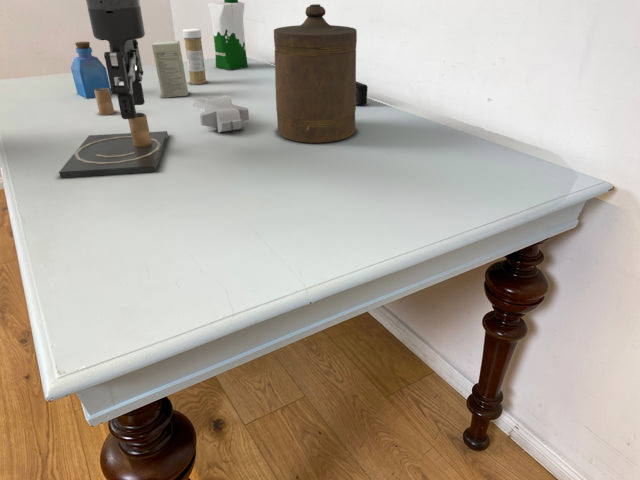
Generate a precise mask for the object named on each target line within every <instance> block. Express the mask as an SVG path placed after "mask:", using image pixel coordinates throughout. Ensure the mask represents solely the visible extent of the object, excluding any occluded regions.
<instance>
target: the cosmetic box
mask: <svg viewBox="0 0 640 480" xmlns="http://www.w3.org/2000/svg"><path fill="white" fill-rule="evenodd" d="M151 49H152V53H153V59H154V64H155V70H156V74H157V79H158V84H159V89H160V94H161V98H174V97H186V96H187V97H188V95H189V89H188V84H187V79H186V73H185V67H184V61H183V54H182V49H181V44H180V40H171V41H154V42H152V43H151Z"/></svg>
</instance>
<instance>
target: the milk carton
mask: <svg viewBox="0 0 640 480" xmlns="http://www.w3.org/2000/svg"><path fill="white" fill-rule="evenodd" d="M207 7H208V10H209V14H210V19H211V25H212V32H213V33H212V34H213V43H214V52H215V53H214V54H215V68H218V69H223V70H230V71H234V70H239V69H243V68H248V66H249V64H248V57H247V49H246V40H245V39H246V38H245V25H244V13H245V2H240V1H239V0H223V1H220V2H219V1H215V2H211V3H207Z"/></svg>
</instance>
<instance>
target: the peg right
mask: <svg viewBox="0 0 640 480" xmlns="http://www.w3.org/2000/svg"><path fill="white" fill-rule="evenodd" d="M136 115H137V116H136V118H135V119H127V122H128V125H129V130H130V133H131V135H132V140H133V145H134V146H136V147H145V146H148V145H150V144H151V137H150V132H151V131H150V127H149V123H148V117H147V114H145V113H144V112H136Z"/></svg>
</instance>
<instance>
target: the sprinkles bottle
mask: <svg viewBox="0 0 640 480" xmlns="http://www.w3.org/2000/svg"><path fill="white" fill-rule="evenodd" d="M182 37H183V40H184V46H185V47H184V48H185V54H186V55H185V56H186V64H187V71H188V75H189V83H190V84H191V85H203V84H206V83H207V78H206V65H205V58H204V50H203V45H202V31H201V29H200V28H185V29H182Z"/></svg>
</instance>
